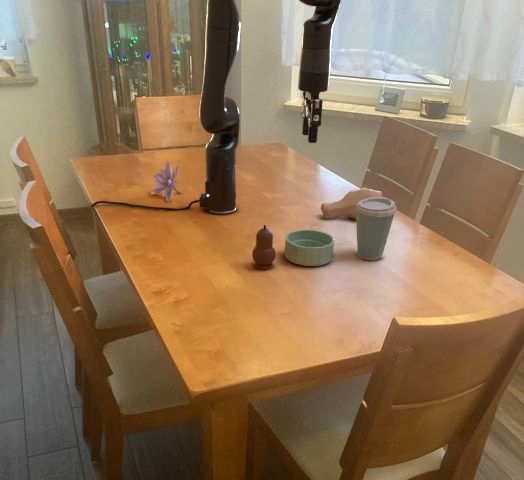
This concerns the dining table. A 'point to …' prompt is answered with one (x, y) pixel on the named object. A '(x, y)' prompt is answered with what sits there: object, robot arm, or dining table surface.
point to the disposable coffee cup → (373, 226)
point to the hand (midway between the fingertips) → (309, 138)
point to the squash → (348, 203)
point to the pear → (264, 249)
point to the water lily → (165, 181)
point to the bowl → (309, 247)
